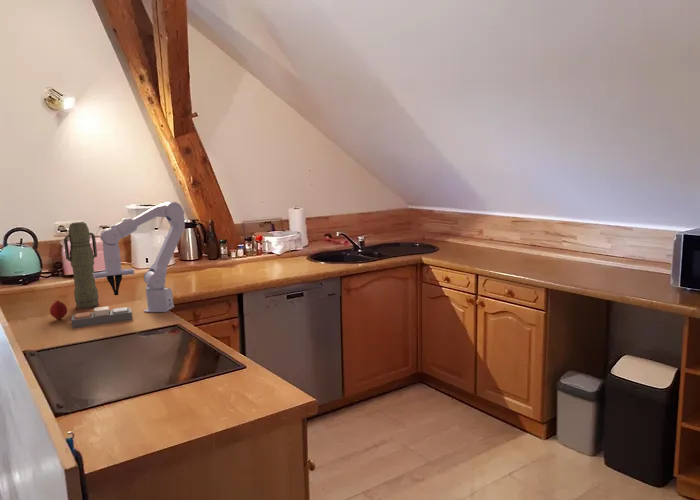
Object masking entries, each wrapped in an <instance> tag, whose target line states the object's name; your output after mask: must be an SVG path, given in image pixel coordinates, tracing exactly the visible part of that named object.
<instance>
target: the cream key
mask: <svg viewBox="0 0 700 500" xmlns="http://www.w3.org/2000/svg"><path fill="white" fill-rule="evenodd" d="M109 310H110V307H109V305H108V306H98V307H93V312H94V314H95V316H103V315H109Z"/></svg>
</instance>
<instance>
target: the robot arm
mask: <svg viewBox="0 0 700 500" xmlns="http://www.w3.org/2000/svg"><path fill="white" fill-rule="evenodd" d="M155 218H166V219H167V222H168V223H169V226H170V228H169V229H168V232H167V234H166V237H165V239H164V241H163V243H162V245H161V247H160V249H159V252H158V254H157V256H156V258H155V261H154V263H153V264H151V265H150V267H149V269H148V270H147V271H146V272H145V273H144V275H143V281H144V283H145V284H146V287H145V294H146V303H147V309H144V310H143V312H144V313H166V312H169V311H170V310H172V309H173V308H174V307H175V305H174V298H173V291H172V289H171V288H169V287H165V284H166V277H167V275H168V274H167V273H168V269H167V268H168V265H169V263H170V262H171V260H172V257H173V255H174V253H175V250H176V248H177V246H178V244H179V241H180V239H181V236H182V235H183V232H184V230H185V228H186V223H185V210H184V208H183V207H182V205H181V204H180V203H178V202H176V201H170V200H166V201H163V203H159V204H156V205H155V206H152V207H151V208H149V209H148V210H146V211H144V212H143V213H140V215H137V216H136V217H133V218H131V217H127V218H126V217H123V218H121V221H120V222H117V223H115V224H112V225H110V227H107V228H104V229H103V230H102V231H101V233H100V237H99V238H100V240H101V242H102V247H103V249H102V252H103V261H104V269H105V271H104V270H103V271H99V272H94V273H93V277H94V279H95V280H97V279H102V278H106V280H107V282H109V285H110V286H111V289H112V291H113V295H114V296H119V289H120V286H121V282H122V280H123V276H129V275H135V269H134V268H124V269H122V262H121V261H122V260H121V251H120V246H119V241H120V239H124V238H125V237H127V236H129V235H131V234H134V233H135V232H136V231H137V230H138V227H139V226H140V225H143V224H145V223H147V222H149V221H151V220H154V219H155Z"/></svg>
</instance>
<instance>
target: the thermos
mask: <svg viewBox="0 0 700 500" xmlns="http://www.w3.org/2000/svg"><path fill="white" fill-rule="evenodd" d="M90 237H91V238H90ZM68 239H69V243H70V246H69V244H68ZM91 243H92V246H91ZM63 245H64V254H65V260H67V261H68V262H70V266H71V268H72V274H73V282H74V283H73V284H74V291H73V295H74V302H75V306H76V308H77V309H91V308H96V307H97V306H98V307H99V291H98V288H97V285H96V279H94V277H93V273H95V269H94V268H95V267H94V265H95V258H97V257H98V249H97V240H96V235H95V234H94V233H93V232H90V229H89V227H88V224H87V223H86V222H84V221H80V222H79V221H78V222H72V223H70V224H69V227H68V235H65V237H64V238H63ZM69 247H70V249H69Z"/></svg>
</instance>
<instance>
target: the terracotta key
mask: <svg viewBox="0 0 700 500" xmlns="http://www.w3.org/2000/svg"><path fill="white" fill-rule="evenodd" d="M91 313H92V312H91V311H87V312H79V313H75V314H74V315H75V319H80V318H88V317H91Z"/></svg>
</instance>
